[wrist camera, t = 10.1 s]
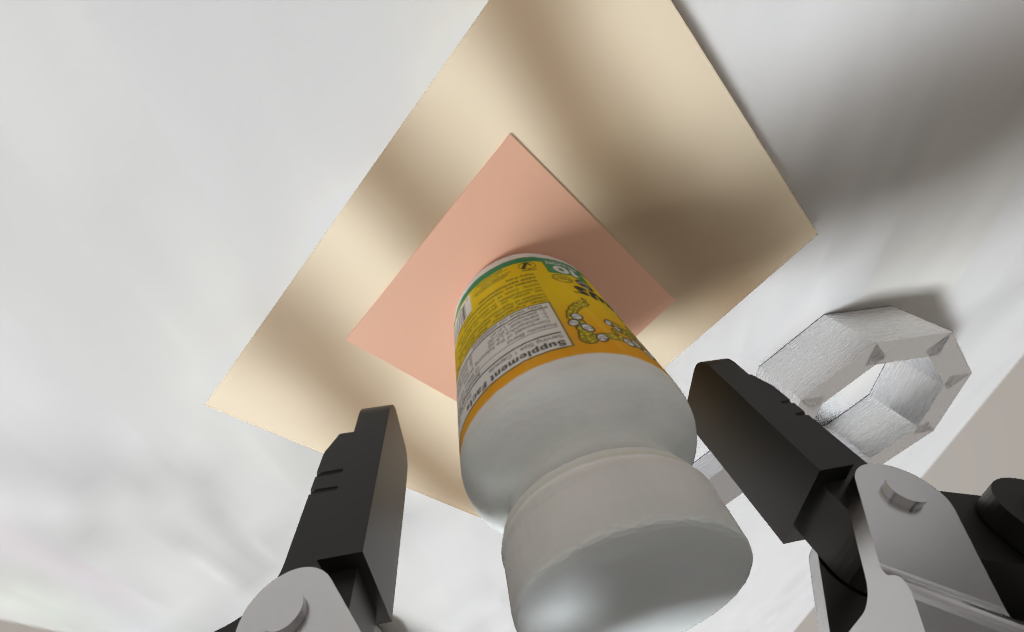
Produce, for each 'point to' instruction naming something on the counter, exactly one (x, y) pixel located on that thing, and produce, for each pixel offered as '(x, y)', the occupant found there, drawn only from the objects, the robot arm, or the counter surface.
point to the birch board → (523, 220)
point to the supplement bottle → (585, 460)
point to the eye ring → (847, 355)
